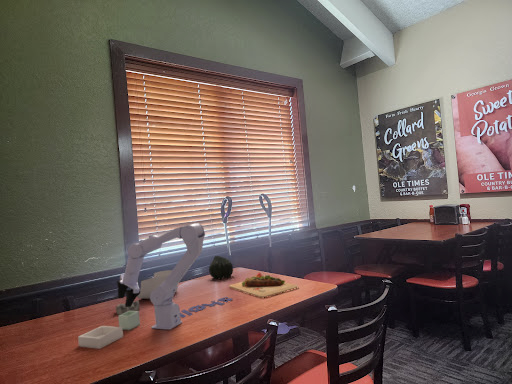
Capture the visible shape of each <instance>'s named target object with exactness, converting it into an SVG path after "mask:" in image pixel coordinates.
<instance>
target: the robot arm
mask: <svg viewBox="0 0 512 384" xmlns="http://www.w3.org/2000/svg"><path fill="white" fill-rule="evenodd" d="M205 237H206V232H205V229H204V226H203V225H202V224H201V223H198V222H194V223H192V224H185V225H182V226H179V227H175V228H173V229H171V230H170V231H167V232H165V233H163V234H161V235H157V234H154V235H153V234H150V235H148V237H147V238H145V239H140V240H139V241H138V242H137V243H136V242H135V243H131V245H129V247H128V249H127V253H128V260H127V263H126V267H125V269H124V270H125V271H124V273H120V274H119V275H120V276H119V279H118V280H116V286H117V299H124V297H125V298H126V299H125V303H124V304H125V306H126V307H131V305H132V303H133V302H135V300H136V298H138V297H137V296H138V295H139V294H140V290H141V287H139V283H138V279H139V276H140V273H141V269H142V265H143V261H144V258H145V256H147V255H148V254H149V253H152V252H154V251H156V250H159V249H161V248H162V246H163V244H165V243H167V242H169V241H173V240H174V239H176V238H177V239H182V241H183V243H184V245H186V251H185V253H184V254H183V255H182V256H181V258H180V259H179V261H178V262H177V263H176V264H175V266H174V267H173V269H171V270H172V271H171V273H170V274H169V276H168V277H167V278H166V280H165V281H164V282H163V283H162V284H160V285H159V287H158V288H157V289H155V290H153V291H152V292H151V294H150V298H149V300H150V302H151V303H152V304H153V307H154V317H155V324H154V325H152V326H151V329H157V330H158V329H159V330H172V329H174V328H176V327H177V326H179V325H181V324H183V321H182V319H181V318H182V317H180V313H181V309H180V308H181V307H180V305H179V304H178V303H175V302H174V301H173V300H174V299H173V297H174V296H175V293H176V292H175V290H176V288H177V284H178V285H179V283H180V282H181V280H182V279H183V278H184V277H185V275H186V274H187V272H188V271H189V270H190V268H191V267H192V265H193V264H194V263H195V262H196V260H198V258H199V256H200V254H201V253H203V252H202V251H203V246H204V238H205ZM128 288H130V289H128Z"/></svg>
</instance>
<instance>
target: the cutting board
mask: <svg viewBox="0 0 512 384" xmlns="http://www.w3.org/2000/svg"><path fill="white" fill-rule="evenodd" d="M297 287H298V288H299V286H298V284H295V283H294V284H293V283H290V282H286V280H283V279H281V278H279V277H273V276H271V275H269V274H265V275H264V274H261V272H258V273H257V274H256V275H255V276H251V277H247V278H245V280H243V281H241V282H240V281H239V282H237V283H233V284H230V285H229V289H231V288H233V289H232V290H234V289H236V290H235V291H237V290H240V291H243V292H246V293H249V294H252V295H255V296H258V297H267V296H271V295H274V294H278V293H281V292H284V291H287V290H291V289H294V288H297ZM240 291H239V292H240ZM243 292H242V293H243ZM246 293H245V294H246ZM249 294H248V295H249ZM252 295H251V296H252ZM278 295H279V294H278ZM255 296H254V297H255ZM258 297H257V298H258ZM271 297H272V296H271Z"/></svg>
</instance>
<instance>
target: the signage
mask: <svg viewBox="0 0 512 384" xmlns="http://www.w3.org/2000/svg"><path fill="white" fill-rule="evenodd" d="M225 298H227V299H225ZM232 299H233V298H231V297H227V296H225V297H221V298H218V299H217V302H215V301H216V300H212V301H211V302H210V303H202V304H201V305H200V304H197V305H196V306H195V305H194V306H191V307H190V308H188V310H186V309H185V308H184V309H182V310H181V309H180V318H185V317H187V315H188V316H192V315H193V314H194V313H198V312H199V311H203V310H205V309H206V307H210V308H212V306H213V307H215V306H216V305H219V306H224V305H225V303H224V302H226V303H229V302H228V301H230V302H232V301H233V300H232ZM225 300H227V301H225ZM231 300H232V301H231ZM219 301H221V302H219ZM223 304H224V305H223ZM185 314H186V315H185Z"/></svg>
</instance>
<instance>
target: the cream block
mask: <svg viewBox="0 0 512 384" xmlns="http://www.w3.org/2000/svg"><path fill="white" fill-rule="evenodd" d="M172 270H173V269H169V270H161V271H156V272H154V273H153V276H152V277H150V278H147V279H144V280H141V283H140V289H139V291H140V294H139V295H138V296H137V297H136V298H137V299H143V300H144V299H147V300H148V299H149V300H150V294H151V292H152V291H153V290H155V289H157V288H158V287H159V285H160V284H162V283H163V282H164V281H165V280H166V278H167V277H168V276H169V274H170V273H171V271H172ZM178 289H179V283H178V284H177V288H176V290H175V293H176V292H177V291H178Z"/></svg>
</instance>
